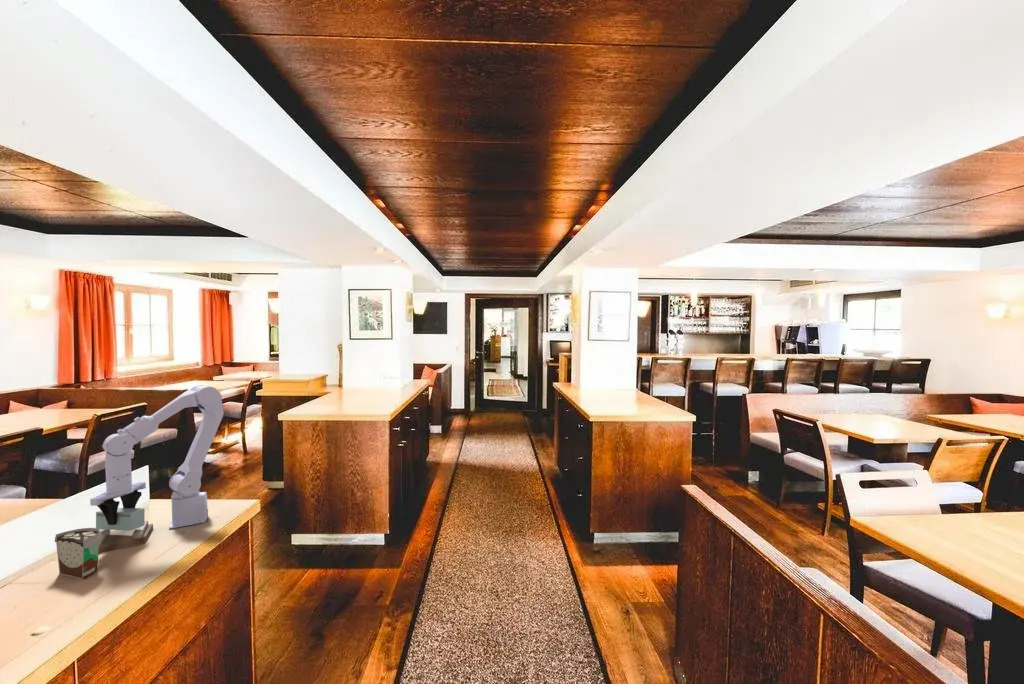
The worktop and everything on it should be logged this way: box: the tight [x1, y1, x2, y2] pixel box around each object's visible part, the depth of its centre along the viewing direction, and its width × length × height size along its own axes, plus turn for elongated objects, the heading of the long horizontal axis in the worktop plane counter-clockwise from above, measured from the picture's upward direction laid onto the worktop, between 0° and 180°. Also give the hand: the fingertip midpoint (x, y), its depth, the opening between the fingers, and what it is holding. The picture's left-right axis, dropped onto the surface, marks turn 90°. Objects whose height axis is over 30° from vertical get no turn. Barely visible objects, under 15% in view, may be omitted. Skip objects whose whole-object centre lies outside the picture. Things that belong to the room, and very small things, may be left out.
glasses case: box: [95, 507, 145, 531], centre depth 133 cm, size 12×4×5 cm, turn 81°
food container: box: [54, 527, 103, 580], centre depth 116 cm, size 12×6×10 cm, turn 71°
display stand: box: [99, 520, 154, 553], centre depth 133 cm, size 13×12×3 cm
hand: (120, 521), depth 133 cm, fingers closed on glasses case, 4 cm apart
